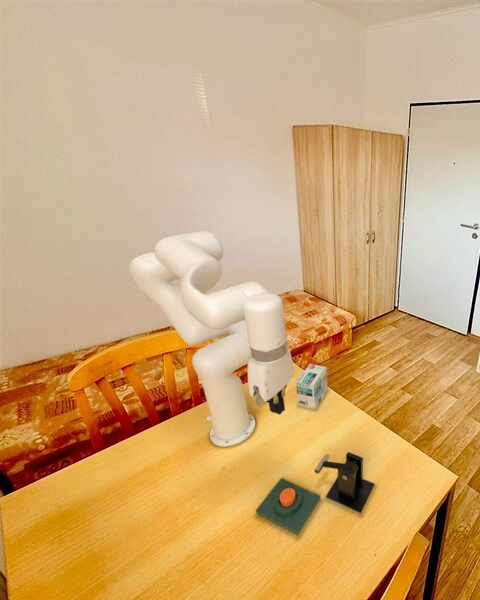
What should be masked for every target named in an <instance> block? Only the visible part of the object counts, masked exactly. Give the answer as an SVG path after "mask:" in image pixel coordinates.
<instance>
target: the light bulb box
mask: <svg viewBox="0 0 480 600" xmlns="http://www.w3.org/2000/svg"><path fill="white" fill-rule="evenodd" d="M295 386H296V396H297V405H298V406H302V407H306V408H310V409H313V410H317V408H318V407H319V405H320V403H321V402H322V400H323V399H324V397H325V395H326V394H327V392H328V368H327V366H323V365H317V364H313V363H309V364H308V366H307V367H306V368H305V370H304V371H303V372H302V373H301V375H299V377H298V378H297V380H296V381H295Z"/></svg>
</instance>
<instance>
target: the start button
mask: <svg viewBox="0 0 480 600" xmlns="http://www.w3.org/2000/svg"><path fill="white" fill-rule="evenodd" d="M295 500H296V494H295V490H294V489H292V488H287V489H285V490H283V491H282V492H281V494H280V503H281V505H282V506H284V507H289V506H291V505H292V504H293V503H294V502H295Z"/></svg>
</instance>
